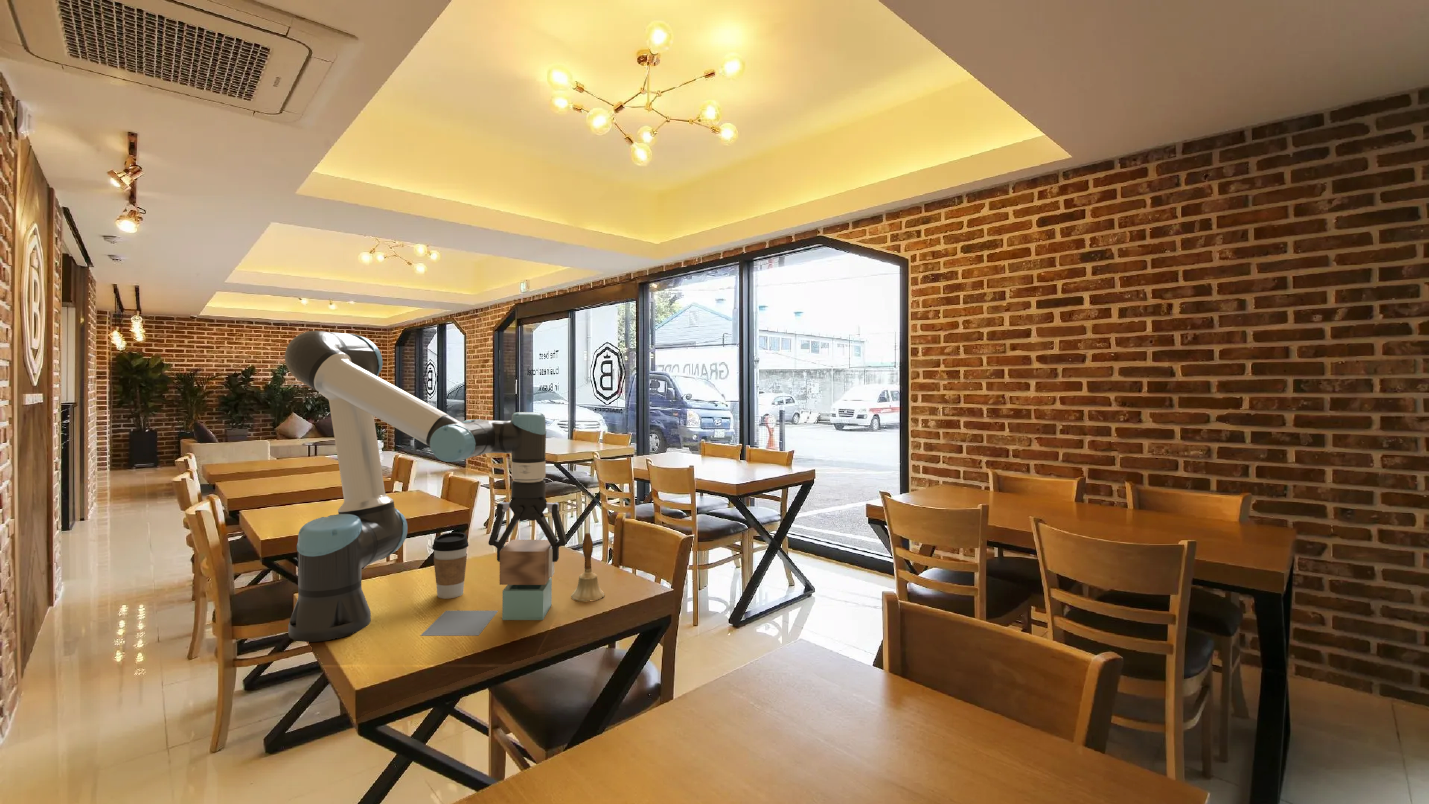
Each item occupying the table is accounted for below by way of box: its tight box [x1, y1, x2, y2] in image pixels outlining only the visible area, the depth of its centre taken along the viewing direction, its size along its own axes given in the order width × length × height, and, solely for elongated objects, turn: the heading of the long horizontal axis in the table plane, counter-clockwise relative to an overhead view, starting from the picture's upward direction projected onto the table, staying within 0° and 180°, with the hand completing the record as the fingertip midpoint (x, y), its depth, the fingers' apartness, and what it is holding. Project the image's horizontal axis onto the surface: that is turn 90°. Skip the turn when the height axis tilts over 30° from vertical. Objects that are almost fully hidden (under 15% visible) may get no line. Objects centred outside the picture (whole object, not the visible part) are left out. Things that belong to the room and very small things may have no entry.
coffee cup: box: [431, 531, 470, 600], centre depth 156 cm, size 8×8×15 cm
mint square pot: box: [501, 577, 553, 621], centre depth 145 cm, size 9×9×7 cm
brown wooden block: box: [499, 539, 551, 586], centre depth 144 cm, size 10×10×8 cm
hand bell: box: [570, 532, 605, 602], centre depth 157 cm, size 8×8×16 cm
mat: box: [419, 610, 499, 637], centre depth 138 cm, size 12×14×1 cm
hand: (527, 575), depth 145 cm, fingers closed on brown wooden block, 10 cm apart
